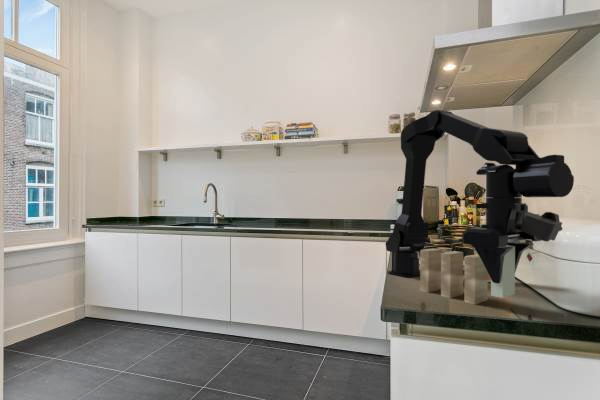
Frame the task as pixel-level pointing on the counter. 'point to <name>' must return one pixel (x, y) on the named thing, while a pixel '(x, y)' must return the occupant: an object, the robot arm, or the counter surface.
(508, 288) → the sage tile
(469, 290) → the maple tile
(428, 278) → the maple tile
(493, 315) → the counter surface
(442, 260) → the maple tile
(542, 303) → the counter surface
